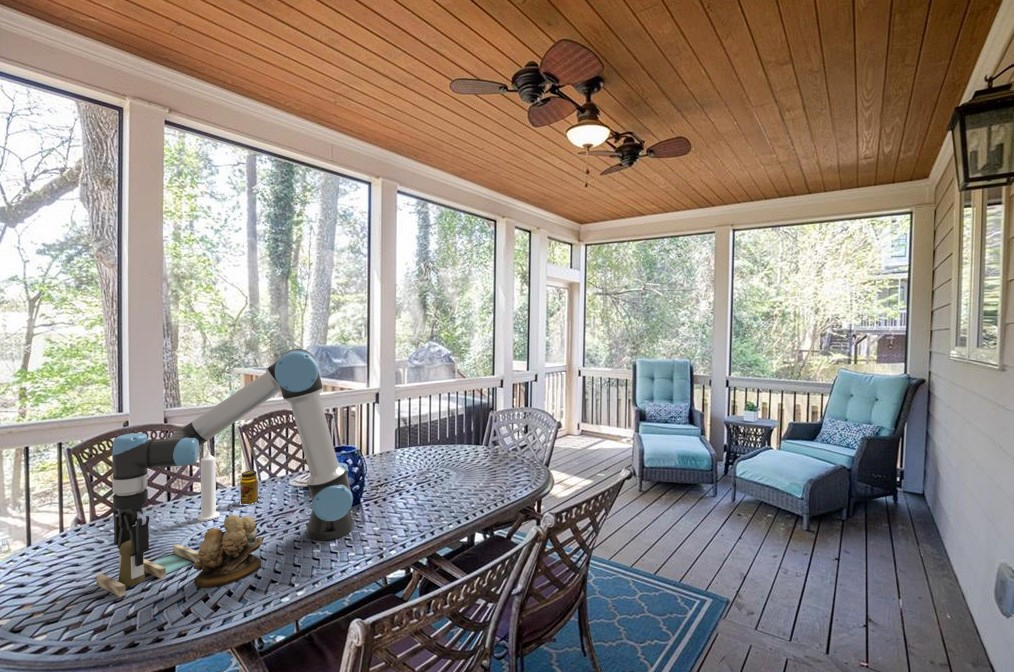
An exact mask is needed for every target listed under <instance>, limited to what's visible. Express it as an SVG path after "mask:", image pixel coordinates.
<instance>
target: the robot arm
mask: <svg viewBox="0 0 1014 672" xmlns="http://www.w3.org/2000/svg"><path fill="white" fill-rule="evenodd" d="M321 379H322V378H321V376H320V372H319V365H318V362H317V360H316V358H315V356H314V355H313V354H312V353H311V352H309V351H307V350H305V349H303V348H294V349H290V350H288V351H286V352H285V353H283V355H281V356H280V357H279V359H277V360H276V361H275V362H274V363H272V364H270V366H268V367H267V368H266V369H265V372H264V373H262V375H260V376H259V377H256V378H255V379H254V380H252V381H251V382H250V383H248V384H246V385H245V386H243V387H242V388H240V389H239V390H237V391H236V392H234V393H233V394H232V395H230V396H228V397H227V398H225V399H223V400H222V401H220V402H219V403H217V404H216V405H214V406H213V407H212V408H210V409H208V410H207V411H205V412H204V413H203V414H201V415H200V416H198V417H197V418H195V419H194V420H192V421H191V422H190V423H188V424H187V425H185V426H183V427H180V428H179V429H177V430H176V431H175V432H174V433H173V434H172V435H171V436H170V437H169V438H168V439H160V440H149V438H148V435H147V434H145V433H142V432H141V433H140V432H139V433H138V432H137V433H136V432H134V433H125V434H123V435H122V434H121V435H118V436H117V437H115V438H114V439H113V441H112V453H111V459H112V463H111V464H112V484H111V485H112V493H113V495H112V507H113V510H112V515H113V544H114V546H117V549H118V550H119V548H120V546H121V545H122V544H123V543H124V542H127V541H129V540H131V545H132V551H133V554H130V557H131V579H134V578H136V577H139V576H141V575H144V572H145V571H144V559H145V558H144V557H145V556H144V554H145V553H147V552H149V551H150V545H149V544H150V540H149V537H150V534H149V523H150V516H149V515H146V516H145V515H144V510H143V506H144V505H146V504H147V502H149V501H148V500H149V490H148V489H147V488H148V479H149V474H148V472H149V471H148V469H154V468H155V469H156V468H168V467H169V468H170V467H184V466H188V465H194V464H195V463H197V461H198V459H199V456H200V447H201V446H202V445H204V444H205V443H206V442H209V440H211V439H212V438H213V437H215V436H216V435H219V433H221V432H223V431H224V430H225V429H227V428H228V427H230V426H231V425H232V424H235V423H236V422H237V421H239V420H240V419H242V418H243V417H244V416H246V415H247V414H249V413H251V412H252V411H254V410H255V409H257V408H258V407H260V406H261V405H262V404H265V402H267V401H269V400H270V399H271V398H272V397H274V396H275V395H277V394H278V393H280V392H281V395H282V399H283V400H284V401H286V402H289V404H290V407H291V411H292V413H293V418H294V421H295V424H296V429H297V432H298V435H299V438H300V442H301V446H302V450H303V453H304V454H303V455H304V456H305V461H306V465H307V467H308V471H309V474H310V475H309V477H308V479H307V481H306V483H307V487H308V491H309V495H310V498H311V514H310V517H309V519H308V522H307V525H306V536H307V537H308V538H310V539H311V540H317V541H319V540H320V541H329V540H335V539H340V538H342V537H344V536H347V535H348V534H349V533H351V532H352V531H353V529H354V520H353V518H352V515H351V511H350V510H351V508H352V505H353V501H354V497H353V496H354V495H353V492H352V491H351V486H350V483H349V473H350V472H349V467H348V466H349V465H348V464H347V463H345V462H338V457H337V454H336V449H335V447H334V443H333V440H332V436H331V432H330V429H329V425H328V422H327V417H326V413H325V411H324V407H323V402H322V399H321V396H320V395H321V393H322V391H323V389H324V387H323V383H322V380H321ZM118 554H119V557H118V558H119V559H118V560H119V561H118V562H119V564H118V565H119V567H118V568H119V570H118V571H119V572H120V566H121V559H122V556H121V555H120V553H119V552H118ZM119 572H118V573H119Z"/></svg>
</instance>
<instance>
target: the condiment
mask: <svg viewBox="0 0 1014 672" xmlns="http://www.w3.org/2000/svg"><path fill="white" fill-rule="evenodd" d="M257 476H258V474H257V471H256V470H246V471H243V472H242V473H241V479H240V482H239V483H240V500H241V504H251V505H253V504H252V503H255V502H257V501H258V498H259V499H260V500H261V498H262V495H259V487H258V484H259V483H258V482H259V479H258V477H257ZM258 496H259V497H258ZM260 497H261V498H260ZM255 504H258V503H255ZM255 504H254V505H255Z"/></svg>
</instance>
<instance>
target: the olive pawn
mask: <svg viewBox="0 0 1014 672" xmlns="http://www.w3.org/2000/svg"><path fill="white" fill-rule="evenodd" d="M119 553H120V555H121V556H122V559H121V566H120V572H118V573H119V574H118V579H117V581H118V582H120V583H122V584H124V585H125V588H126V587H132V586H134V585H138V584H139V583H142V582H143V581H145V579H146V572H145V571H144V575H141V576H139V577H136V578H134V579H131V557H130V554H133V551H132V545H131V540H129V541H127V542H124V543H123V544H122V545H121V546H120V548H119V549H118V554H119Z"/></svg>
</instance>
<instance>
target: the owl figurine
mask: <svg viewBox="0 0 1014 672" xmlns="http://www.w3.org/2000/svg"><path fill="white" fill-rule="evenodd" d="M223 528H224V529H225V532H224V531H222V529H220V528H218V527H213V528H210V529H208V530H207V531H206V532H205V533H204V537H203V540H202V541H201V542H200V544H199V550H198V551H197V552H198V554H199V555H198V560H200V561H198V562H194V563H193V566H192V569H193V570H197V571H199V570H201V571H200V572H199V573H198V574H197V575H196V577H195V578H194V581H193V582H194V583H193V584H194V585H195V587H196V588H200V589H213V588H218V587H221V586H222V587H223V586H226V585H230V584H232V583H235V582H238V581H240V580H243V579H245V578H247V577H249V576H251V575H253V574H255V572H257V571H258V570H259V569H260V568H261V565H262V560H261V559H260V557H257V556H255V555H253V553H255V551H257V550H258V549H260V547H261V545H263V543H264V542H263V539H264V537H263V536H258V537H257V535H258V530H257V529H256V528H257V523H256V520H255V519H254V517H252V516H248V515H247V516H243V517H240V516H239V515H235V514H231V515H229V516H227V517H226V518H225V519H224V520H223Z"/></svg>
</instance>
